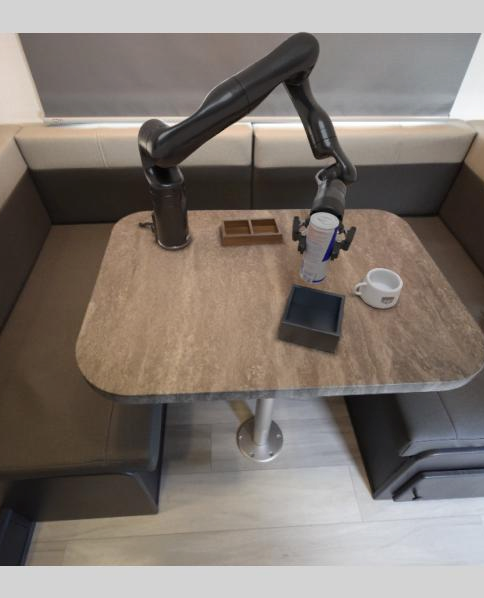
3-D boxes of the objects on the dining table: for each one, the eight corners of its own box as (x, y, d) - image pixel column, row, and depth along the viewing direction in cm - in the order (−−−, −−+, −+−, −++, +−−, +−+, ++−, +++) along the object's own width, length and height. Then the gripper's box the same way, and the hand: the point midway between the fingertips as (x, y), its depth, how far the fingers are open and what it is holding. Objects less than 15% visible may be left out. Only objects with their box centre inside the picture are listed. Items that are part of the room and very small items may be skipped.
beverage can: (324, 287, 76) (339, 229, 65) (298, 283, 76) (309, 226, 66) (325, 270, 80) (339, 213, 69) (300, 267, 80) (311, 209, 69)
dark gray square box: (289, 301, 88) (292, 283, 84) (339, 313, 86) (345, 295, 81) (278, 339, 80) (280, 321, 75) (333, 353, 77) (339, 336, 73)
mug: (388, 282, 94) (396, 265, 89) (402, 309, 87) (412, 292, 83) (344, 284, 93) (350, 267, 89) (356, 311, 86) (362, 294, 82)
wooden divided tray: (221, 227, 110) (220, 219, 108) (275, 225, 112) (276, 217, 109) (223, 245, 104) (223, 237, 101) (281, 242, 105) (282, 234, 103)
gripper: (299, 190, 80) (284, 232, 69) (363, 201, 77) (358, 246, 66) (295, 218, 85) (280, 261, 74) (355, 229, 83) (349, 275, 71)
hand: (317, 253), depth 70 cm, fingers closed on beverage can, 5 cm apart
